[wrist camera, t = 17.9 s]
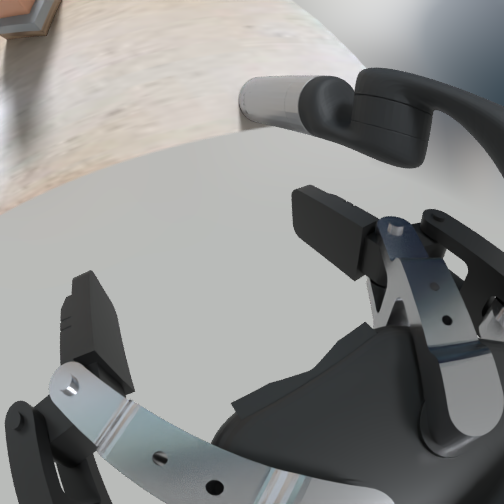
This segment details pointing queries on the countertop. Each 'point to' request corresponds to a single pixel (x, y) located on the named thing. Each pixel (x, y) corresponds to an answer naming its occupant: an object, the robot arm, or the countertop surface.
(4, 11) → the pillar
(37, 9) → the tower top slab
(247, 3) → the countertop surface
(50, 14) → the tower bottom slab
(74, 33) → the countertop surface
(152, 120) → the countertop surface
